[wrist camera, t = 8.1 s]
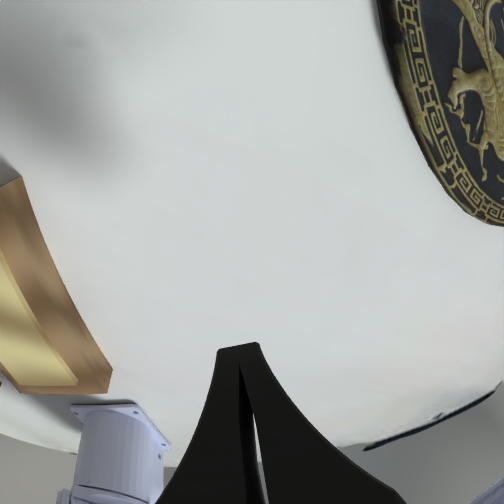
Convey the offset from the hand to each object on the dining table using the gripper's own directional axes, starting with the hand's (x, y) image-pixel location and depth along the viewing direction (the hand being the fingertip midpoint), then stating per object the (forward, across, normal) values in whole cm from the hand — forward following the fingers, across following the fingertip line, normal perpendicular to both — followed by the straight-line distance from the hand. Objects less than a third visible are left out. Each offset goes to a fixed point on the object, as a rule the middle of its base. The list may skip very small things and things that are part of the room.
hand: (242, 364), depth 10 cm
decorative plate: (+9, -26, -12) cm, 30 cm away
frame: (+9, +16, 0) cm, 19 cm away
